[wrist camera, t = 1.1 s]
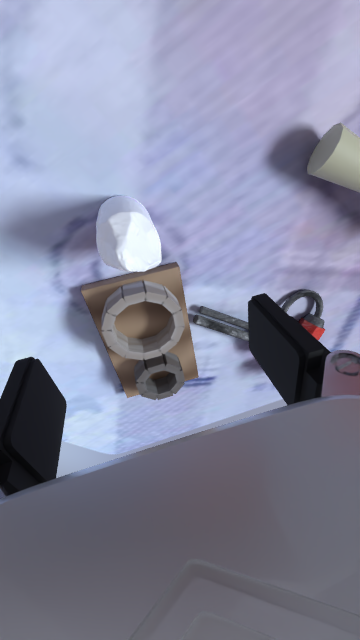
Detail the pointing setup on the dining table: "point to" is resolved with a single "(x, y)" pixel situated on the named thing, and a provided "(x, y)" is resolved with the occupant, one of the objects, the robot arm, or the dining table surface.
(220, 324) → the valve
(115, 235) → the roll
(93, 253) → the dining table surface
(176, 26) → the dining table surface
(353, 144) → the flower vase
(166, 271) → the fitting board
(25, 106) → the dining table surface
